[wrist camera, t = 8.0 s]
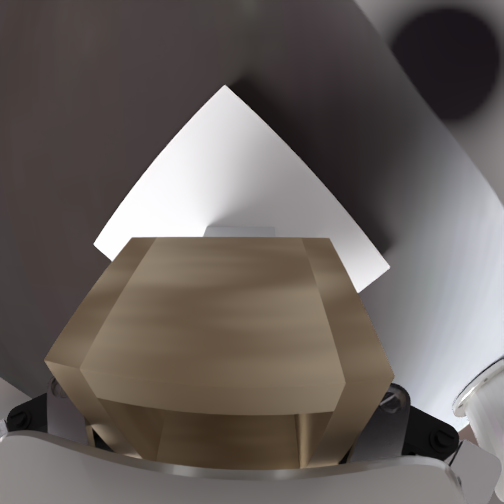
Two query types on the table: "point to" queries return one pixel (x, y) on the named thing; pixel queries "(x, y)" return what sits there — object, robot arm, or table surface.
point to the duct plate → (237, 191)
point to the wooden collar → (224, 353)
